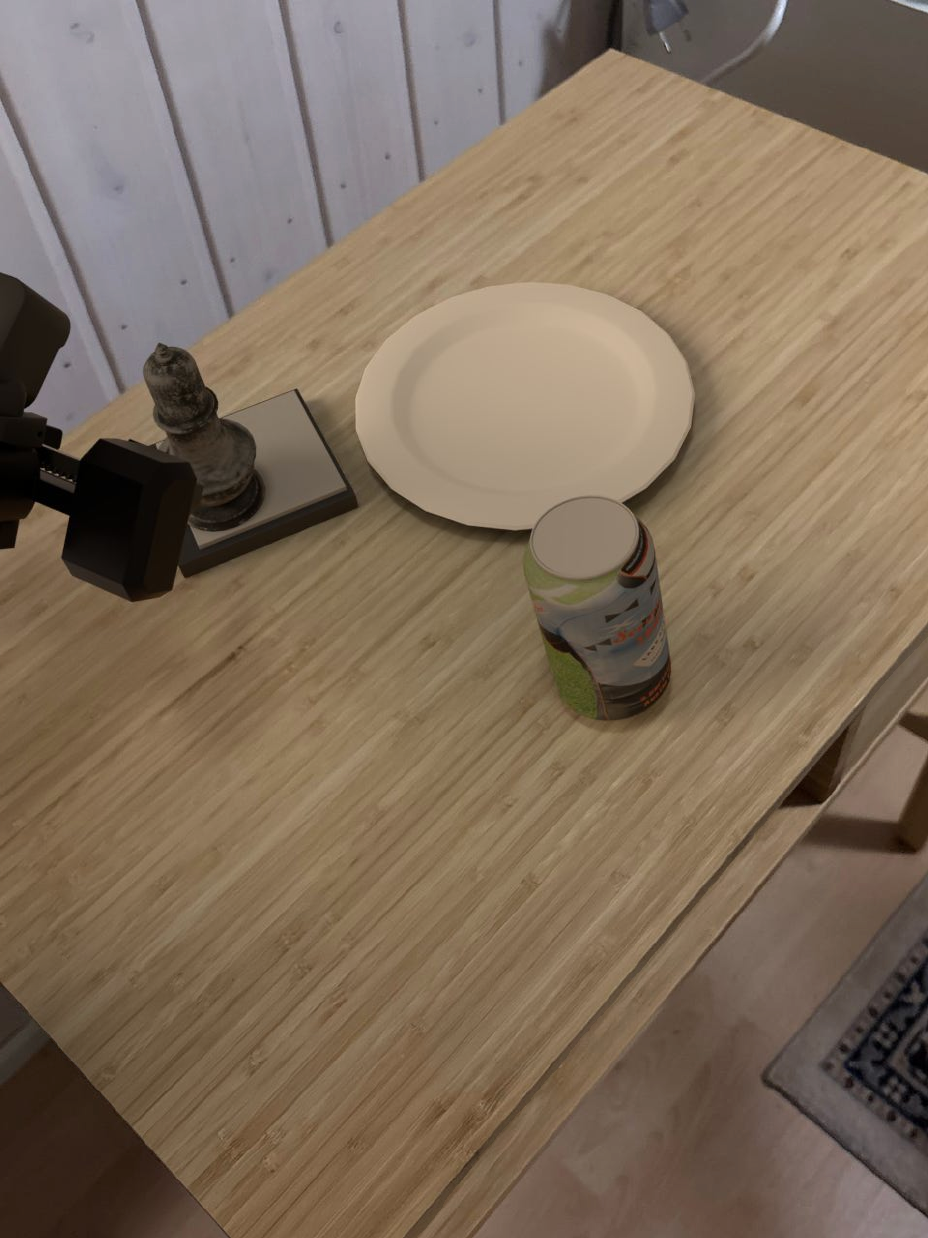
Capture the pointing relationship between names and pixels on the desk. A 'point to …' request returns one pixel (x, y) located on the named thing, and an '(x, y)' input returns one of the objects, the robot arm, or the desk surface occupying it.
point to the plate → (523, 404)
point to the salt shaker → (204, 441)
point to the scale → (276, 483)
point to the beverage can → (599, 607)
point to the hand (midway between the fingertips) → (127, 465)
